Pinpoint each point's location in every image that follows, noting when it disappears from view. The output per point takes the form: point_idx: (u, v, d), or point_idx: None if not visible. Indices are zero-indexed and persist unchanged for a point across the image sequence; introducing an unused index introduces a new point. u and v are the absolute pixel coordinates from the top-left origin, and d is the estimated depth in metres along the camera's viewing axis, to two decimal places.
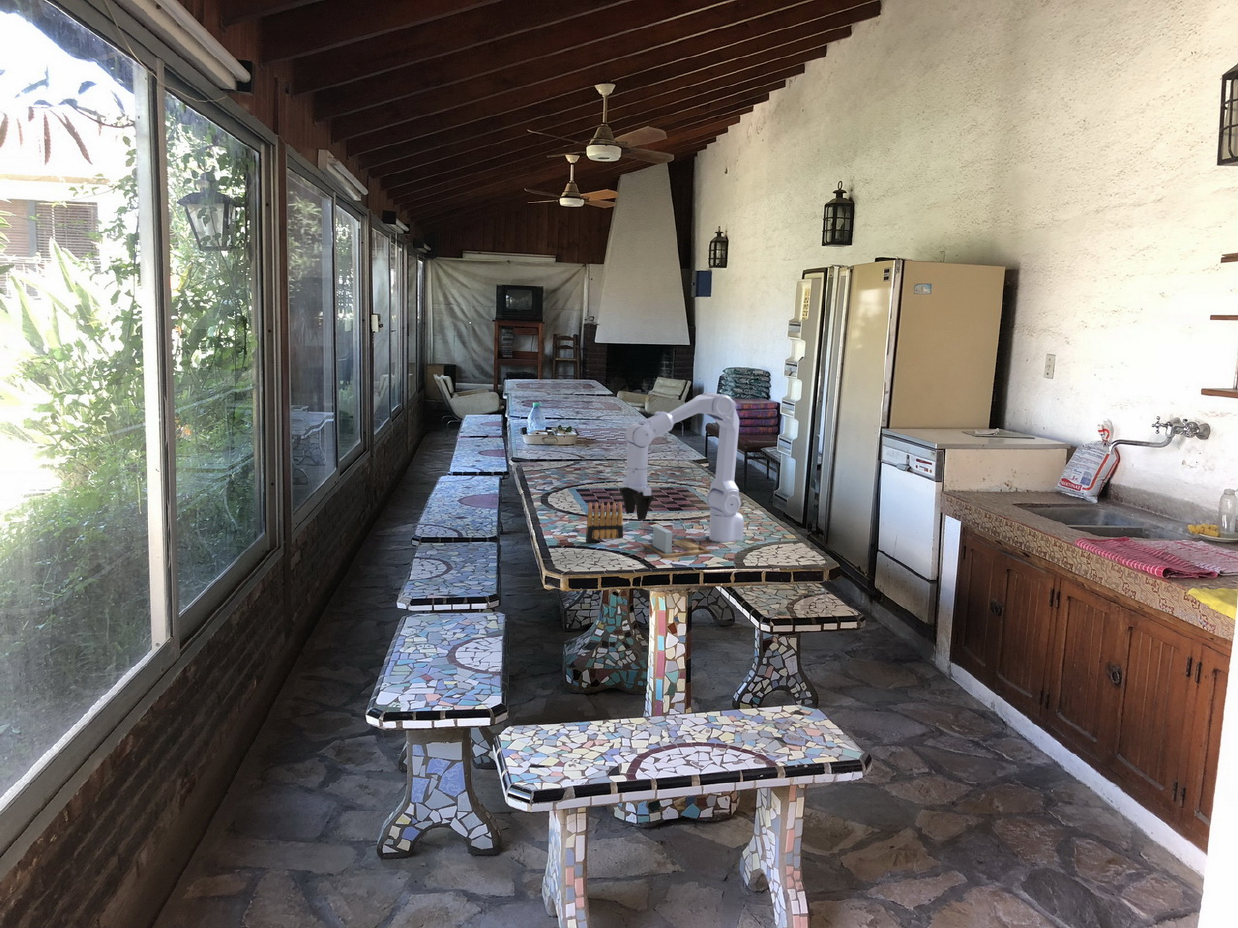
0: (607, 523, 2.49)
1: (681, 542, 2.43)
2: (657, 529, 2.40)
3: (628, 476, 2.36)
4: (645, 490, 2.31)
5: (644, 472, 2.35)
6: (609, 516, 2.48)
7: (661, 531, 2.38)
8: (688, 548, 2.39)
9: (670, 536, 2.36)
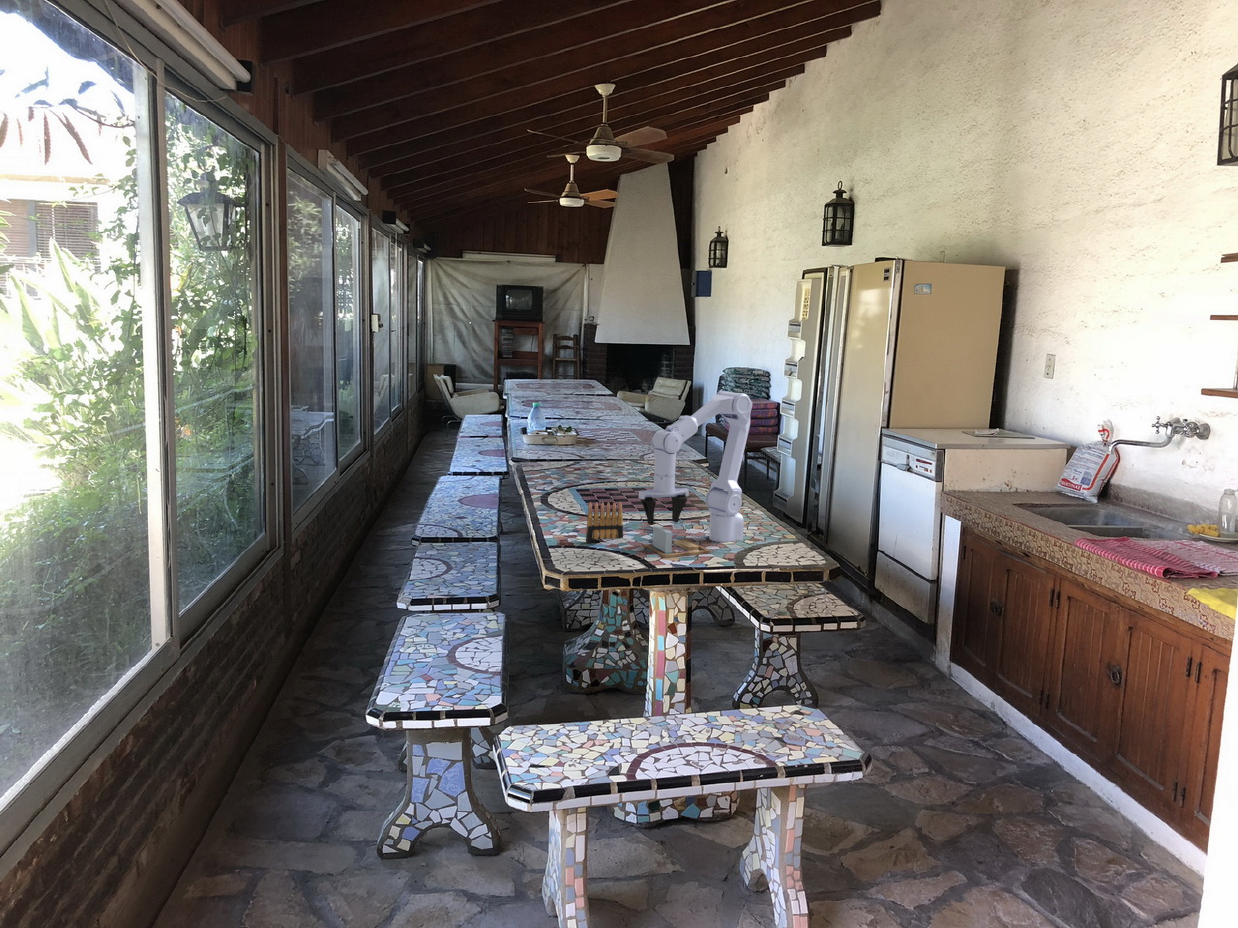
0: (607, 523, 2.49)
1: (681, 542, 2.43)
2: (657, 529, 2.40)
3: None
4: (639, 492, 2.35)
5: (657, 478, 2.34)
6: (609, 516, 2.48)
7: (661, 531, 2.38)
8: (688, 548, 2.39)
9: (670, 536, 2.36)
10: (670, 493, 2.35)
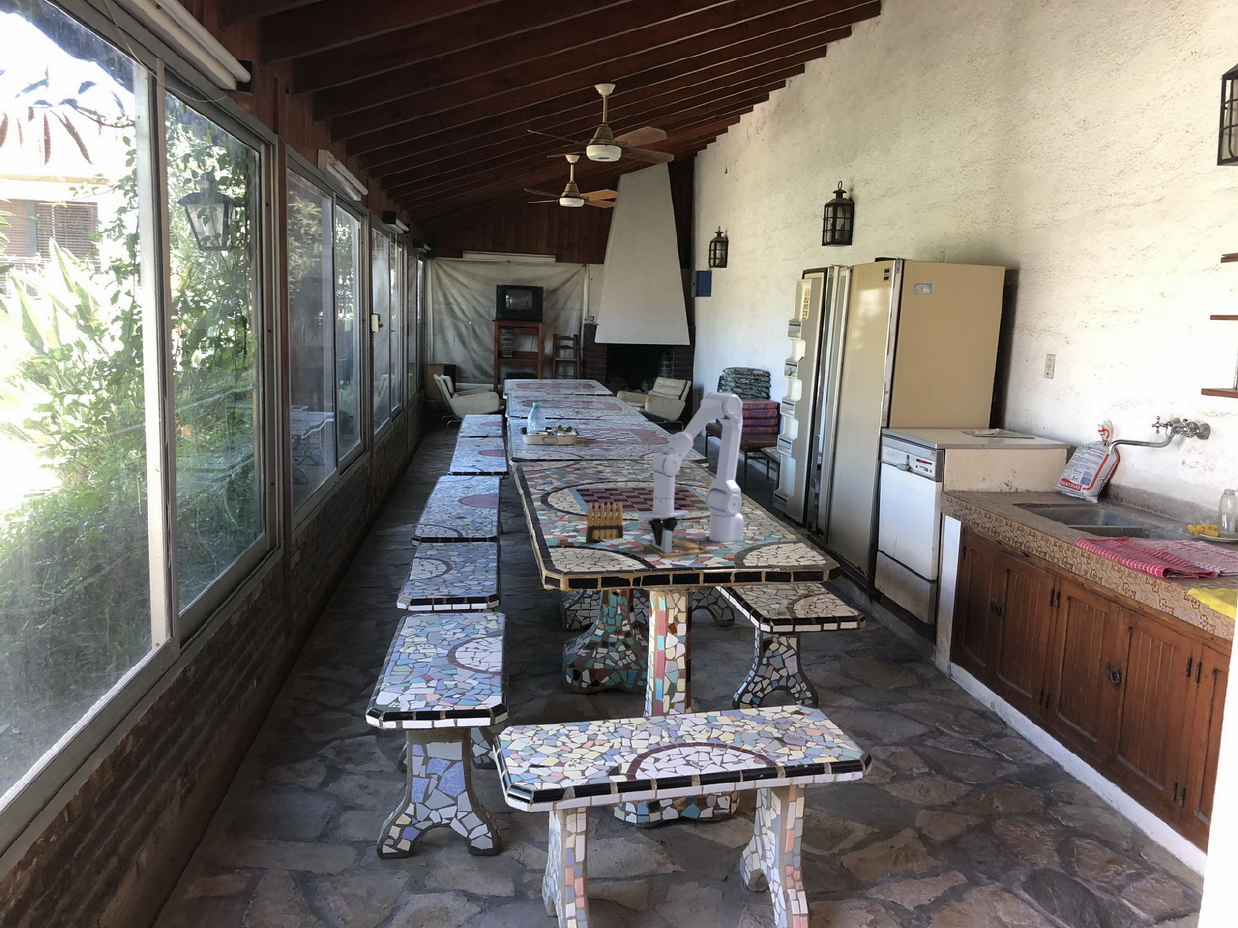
0: (607, 523, 2.49)
1: (681, 542, 2.43)
2: None
3: None
4: (638, 515, 2.36)
5: (656, 501, 2.35)
6: (609, 516, 2.48)
7: None
8: (688, 548, 2.39)
9: (670, 536, 2.36)
10: (669, 515, 2.36)
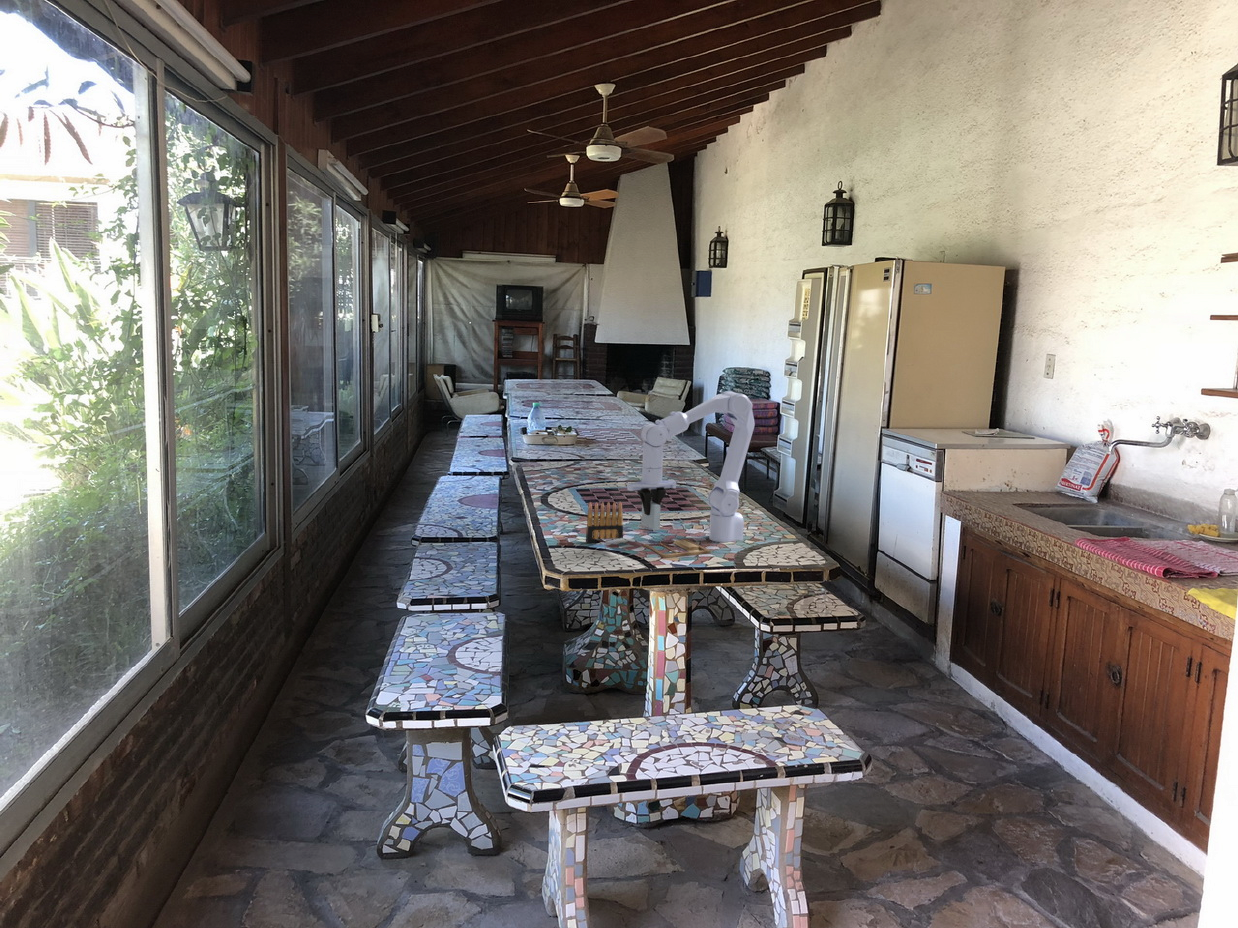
0: (607, 523, 2.49)
1: (681, 542, 2.43)
2: None
3: None
4: (627, 484, 2.41)
5: (645, 471, 2.41)
6: (609, 516, 2.48)
7: None
8: (688, 548, 2.39)
9: (658, 509, 2.41)
10: (658, 485, 2.41)
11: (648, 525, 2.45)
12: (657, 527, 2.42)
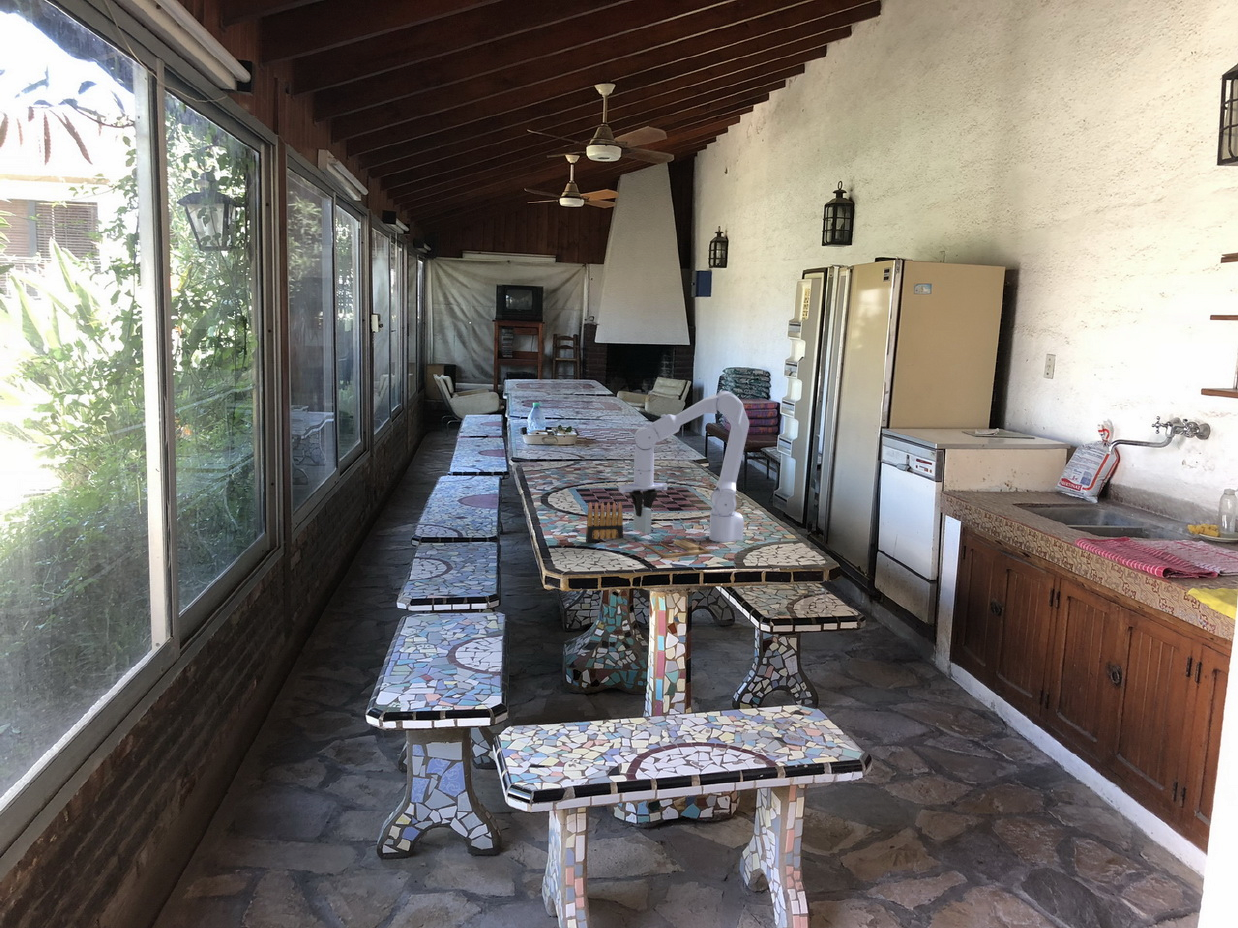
0: (607, 523, 2.49)
1: (681, 542, 2.43)
2: None
3: None
4: (619, 486, 2.47)
5: (637, 473, 2.46)
6: (609, 516, 2.48)
7: None
8: (688, 548, 2.39)
9: (649, 513, 2.47)
10: (649, 487, 2.46)
11: (639, 528, 2.50)
12: (648, 531, 2.48)
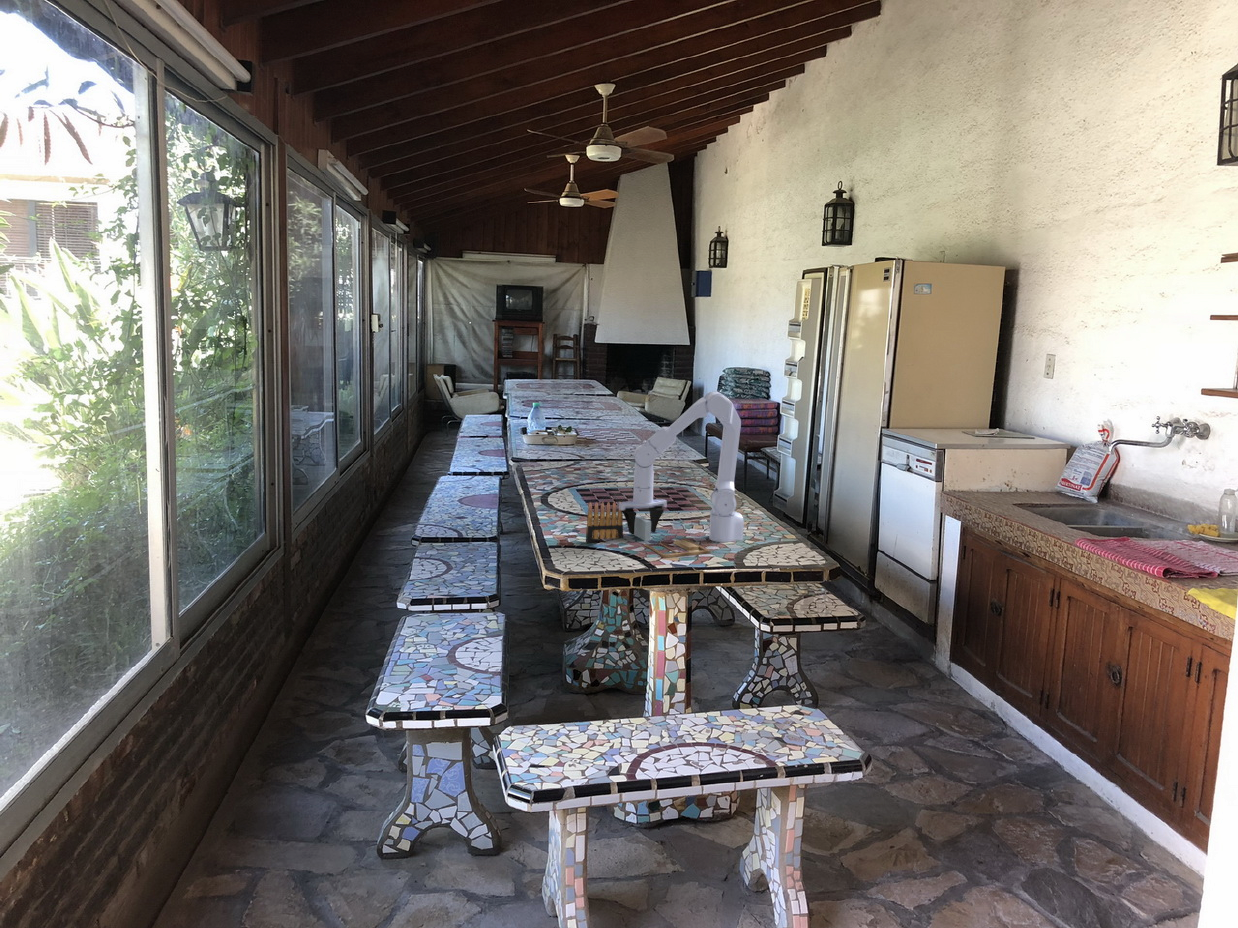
0: (607, 523, 2.49)
1: (681, 542, 2.43)
2: (637, 518, 2.52)
3: None
4: (619, 504, 2.48)
5: (636, 490, 2.47)
6: (609, 516, 2.48)
7: (641, 520, 2.49)
8: (688, 548, 2.39)
9: (649, 525, 2.47)
10: (648, 504, 2.47)
11: None
12: None
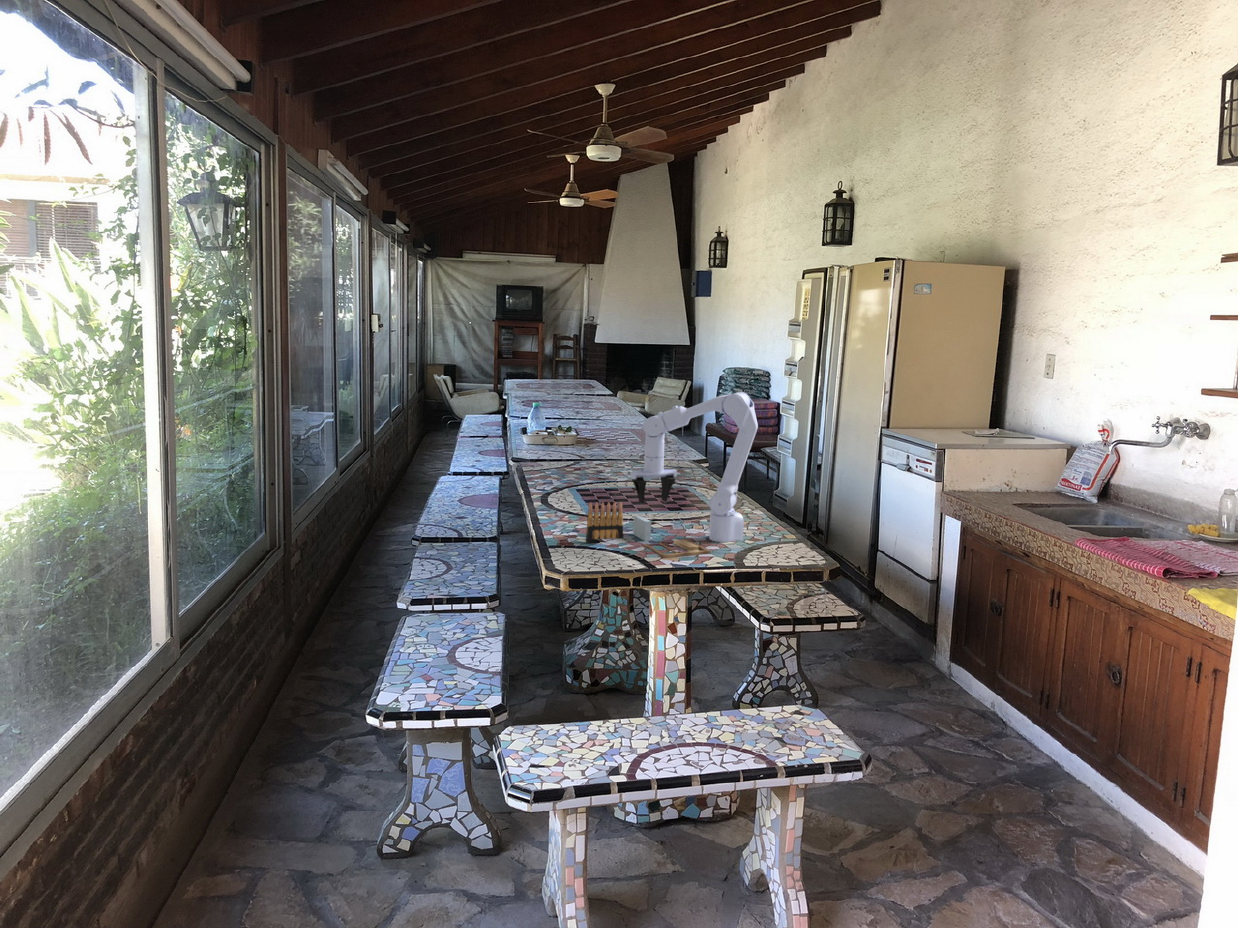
0: (607, 523, 2.48)
1: (681, 542, 2.43)
2: (637, 518, 2.52)
3: None
4: (630, 473, 2.54)
5: (647, 460, 2.53)
6: (609, 516, 2.48)
7: (641, 520, 2.49)
8: (688, 548, 2.39)
9: (649, 525, 2.47)
10: (659, 473, 2.53)
11: None
12: None
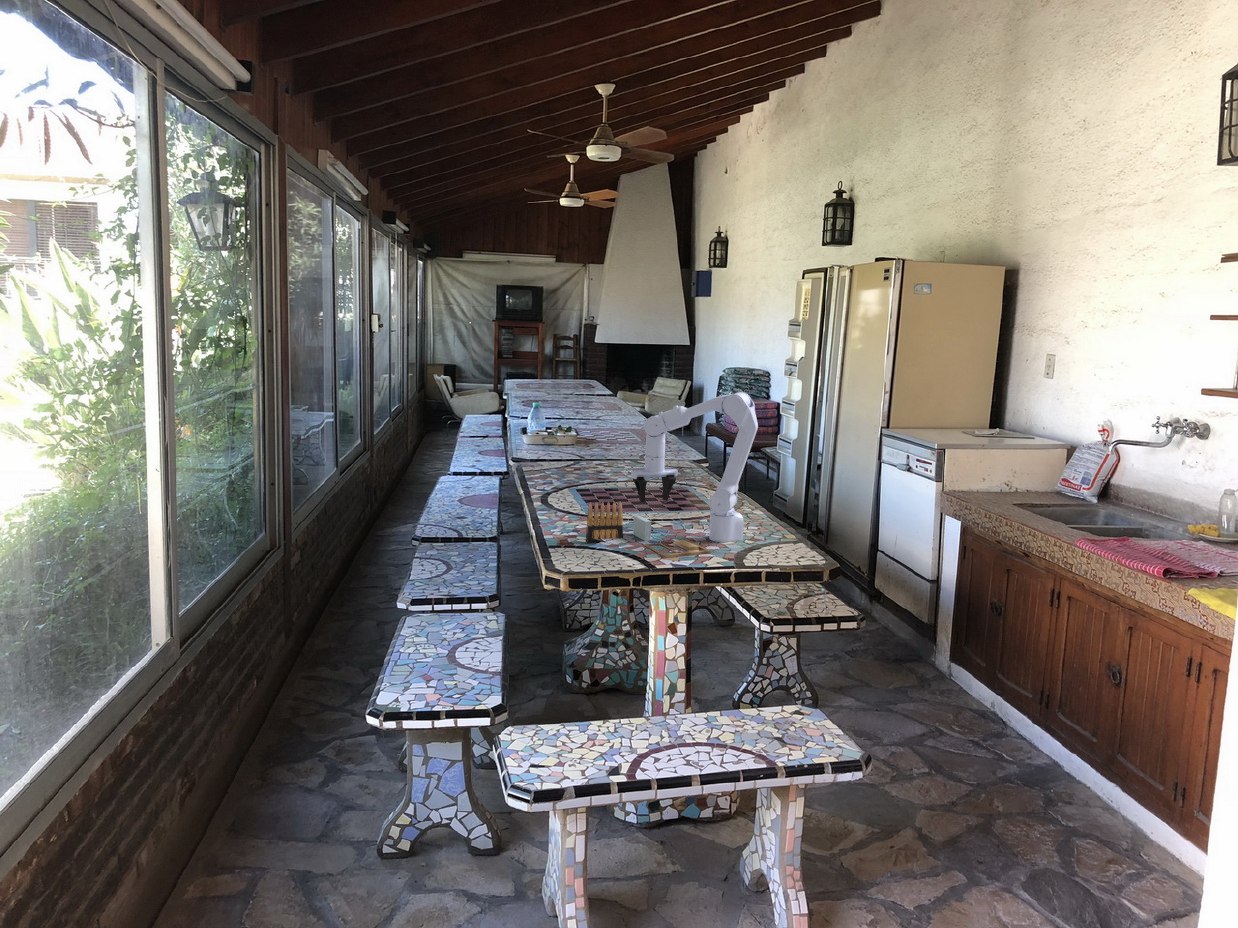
0: (607, 523, 2.49)
1: (681, 542, 2.43)
2: (637, 518, 2.52)
3: None
4: (631, 472, 2.54)
5: (648, 459, 2.54)
6: (609, 516, 2.49)
7: (641, 520, 2.49)
8: (688, 548, 2.39)
9: (649, 525, 2.47)
10: (660, 473, 2.54)
11: None
12: None
